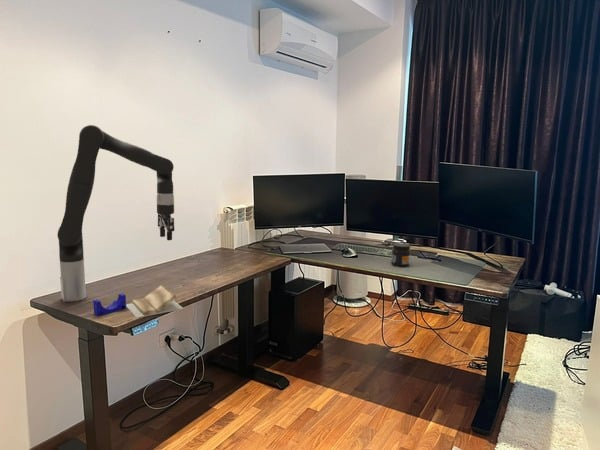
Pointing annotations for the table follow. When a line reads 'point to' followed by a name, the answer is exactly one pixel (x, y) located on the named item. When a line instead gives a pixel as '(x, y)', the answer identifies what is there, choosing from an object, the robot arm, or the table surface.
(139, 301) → the laid plank
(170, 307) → the plate
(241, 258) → the table surface
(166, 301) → the click plank
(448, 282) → the table surface
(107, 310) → the blue cradle holder
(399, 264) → the supplement container
